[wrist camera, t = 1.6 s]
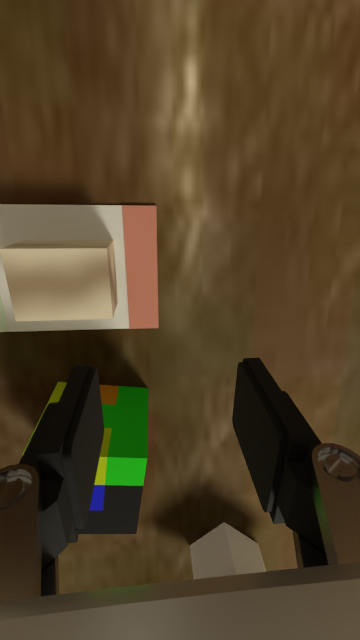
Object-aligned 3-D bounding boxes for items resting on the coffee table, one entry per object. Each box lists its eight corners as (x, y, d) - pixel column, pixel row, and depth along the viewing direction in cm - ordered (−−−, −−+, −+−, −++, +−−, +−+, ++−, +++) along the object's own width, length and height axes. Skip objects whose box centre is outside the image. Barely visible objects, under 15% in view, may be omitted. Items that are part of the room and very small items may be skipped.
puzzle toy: (58, 448, 36) (27, 533, 27) (58, 381, 33) (22, 454, 23) (139, 451, 38) (136, 533, 29) (147, 387, 34) (147, 458, 25)
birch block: (118, 301, 29) (112, 318, 25) (35, 303, 29) (15, 321, 25) (113, 240, 27) (106, 248, 23) (22, 240, 26) (-1, 248, 22)
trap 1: (158, 327, 31) (158, 327, 31) (129, 327, 31) (129, 328, 31) (156, 205, 26) (156, 205, 26) (122, 205, 26) (122, 205, 26)
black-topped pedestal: (103, 549, 46) (87, 680, 33) (231, 455, 40) (267, 569, 28) (218, 604, 55) (238, 721, 43) (334, 534, 50) (394, 644, 38)
